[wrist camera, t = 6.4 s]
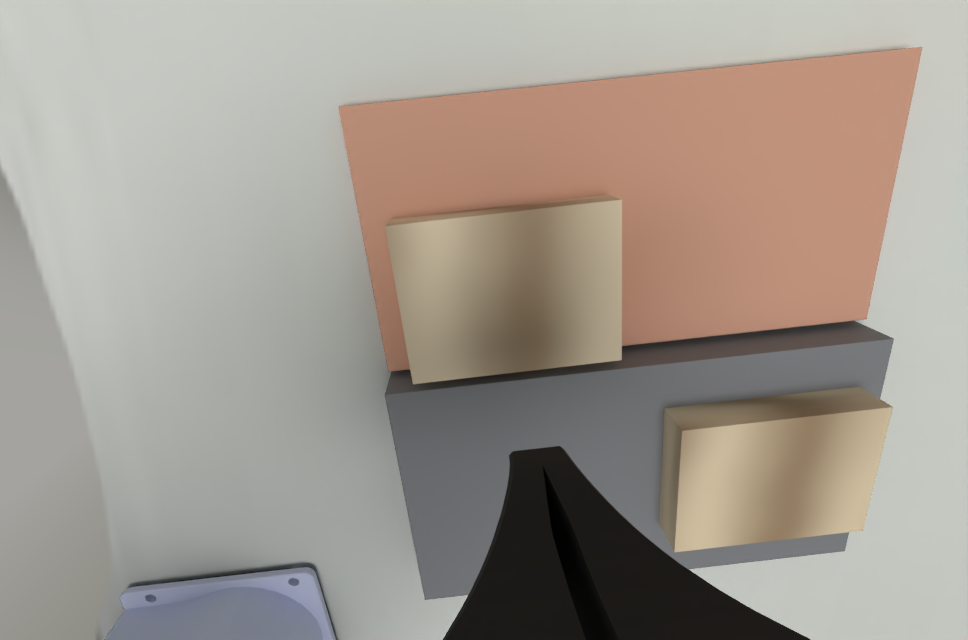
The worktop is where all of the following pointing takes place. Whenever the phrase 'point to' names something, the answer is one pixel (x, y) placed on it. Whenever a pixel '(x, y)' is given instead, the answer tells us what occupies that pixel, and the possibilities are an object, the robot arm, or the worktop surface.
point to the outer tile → (770, 467)
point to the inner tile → (509, 287)
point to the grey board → (599, 434)
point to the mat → (666, 183)
